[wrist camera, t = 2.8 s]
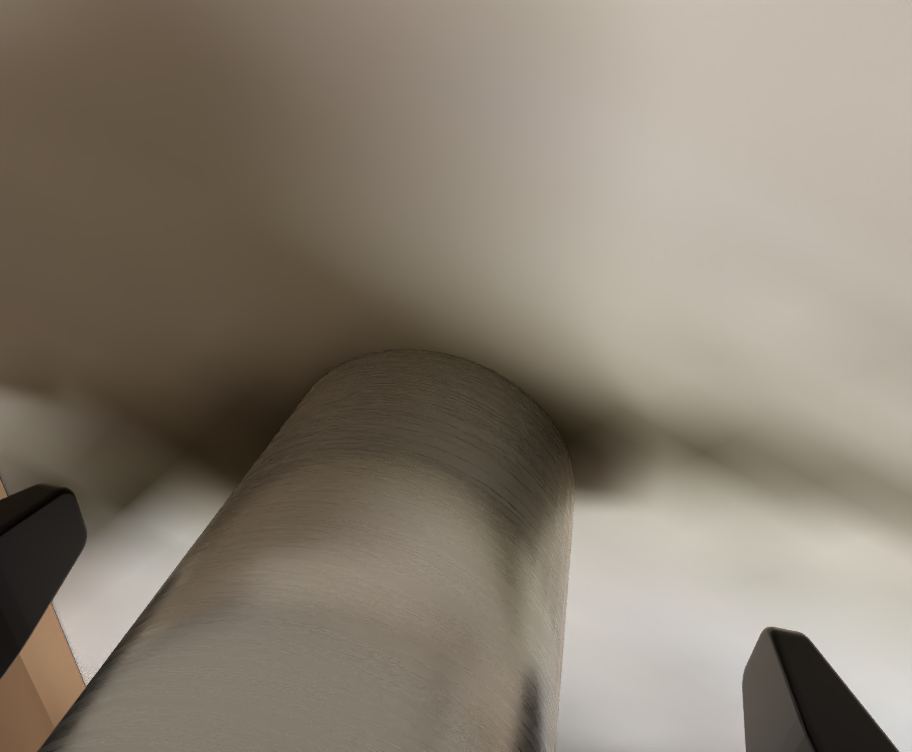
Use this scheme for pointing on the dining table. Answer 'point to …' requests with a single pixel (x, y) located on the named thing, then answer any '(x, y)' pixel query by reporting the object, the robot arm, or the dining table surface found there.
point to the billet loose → (362, 583)
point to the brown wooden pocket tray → (37, 686)
